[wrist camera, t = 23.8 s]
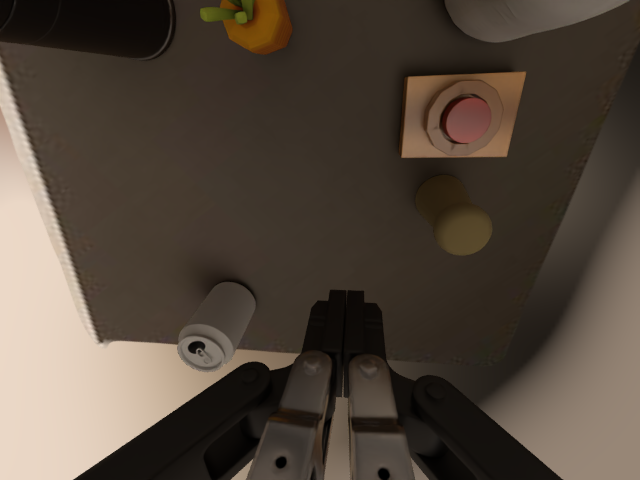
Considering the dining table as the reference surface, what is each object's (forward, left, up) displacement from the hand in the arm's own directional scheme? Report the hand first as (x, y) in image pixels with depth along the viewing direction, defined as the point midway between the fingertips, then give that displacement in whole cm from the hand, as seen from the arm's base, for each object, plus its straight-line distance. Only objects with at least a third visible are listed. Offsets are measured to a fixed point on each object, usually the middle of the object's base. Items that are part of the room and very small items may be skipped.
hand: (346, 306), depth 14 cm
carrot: (-8, +14, -27) cm, 32 cm away
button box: (+10, +6, -27) cm, 29 cm away
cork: (+10, -4, -27) cm, 29 cm away
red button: (+11, +6, -23) cm, 26 cm away
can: (-19, -21, -27) cm, 39 cm away
